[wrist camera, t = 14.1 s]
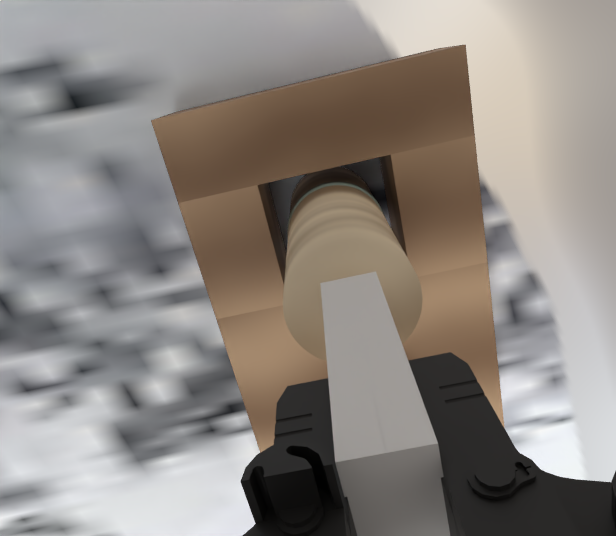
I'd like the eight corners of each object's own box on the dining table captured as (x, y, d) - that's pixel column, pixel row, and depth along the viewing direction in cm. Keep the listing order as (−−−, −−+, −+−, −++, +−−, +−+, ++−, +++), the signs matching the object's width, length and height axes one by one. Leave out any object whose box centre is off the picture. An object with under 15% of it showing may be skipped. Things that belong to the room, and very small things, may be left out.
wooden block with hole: (175, 111, 23) (134, 126, 17) (437, 48, 22) (484, 41, 16) (272, 426, 29) (266, 509, 24) (478, 386, 29) (521, 463, 23)
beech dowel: (280, 175, 24) (265, 254, 14) (365, 156, 24) (413, 222, 14) (300, 254, 26) (299, 378, 15) (379, 236, 25) (433, 351, 15)
